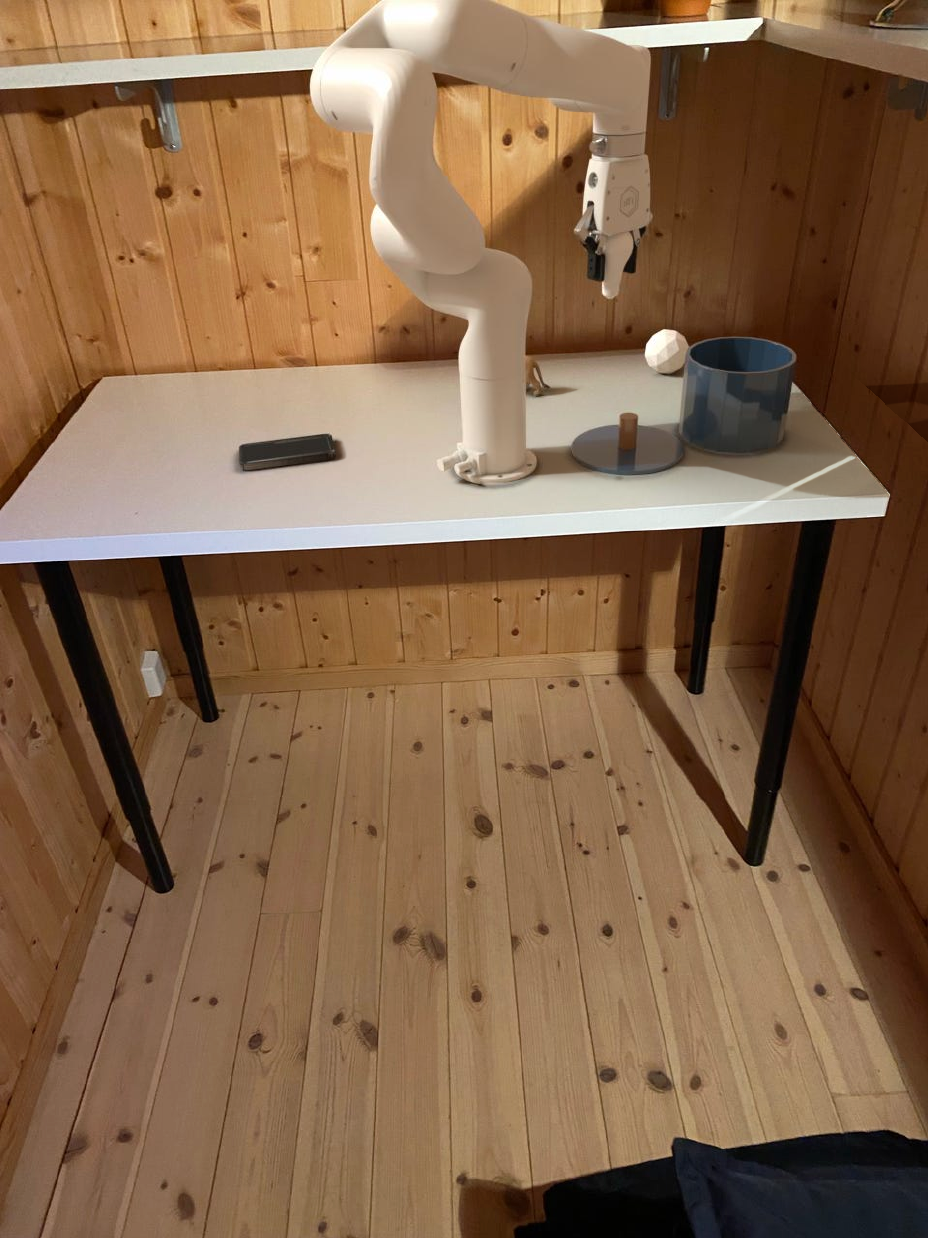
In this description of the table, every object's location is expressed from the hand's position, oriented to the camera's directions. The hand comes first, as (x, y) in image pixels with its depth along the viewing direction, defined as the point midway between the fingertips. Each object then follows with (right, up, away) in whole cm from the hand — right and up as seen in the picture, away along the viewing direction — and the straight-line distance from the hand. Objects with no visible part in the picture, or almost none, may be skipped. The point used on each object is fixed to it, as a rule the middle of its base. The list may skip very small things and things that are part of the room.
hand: (611, 274), depth 142 cm
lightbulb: (0, -3, +2) cm, 4 cm away
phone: (-51, -27, +5) cm, 58 cm away
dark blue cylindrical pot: (+20, -24, +4) cm, 31 cm away
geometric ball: (+14, -8, +27) cm, 32 cm away
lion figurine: (-15, -13, +22) cm, 30 cm away
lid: (+2, -27, 0) cm, 27 cm away
